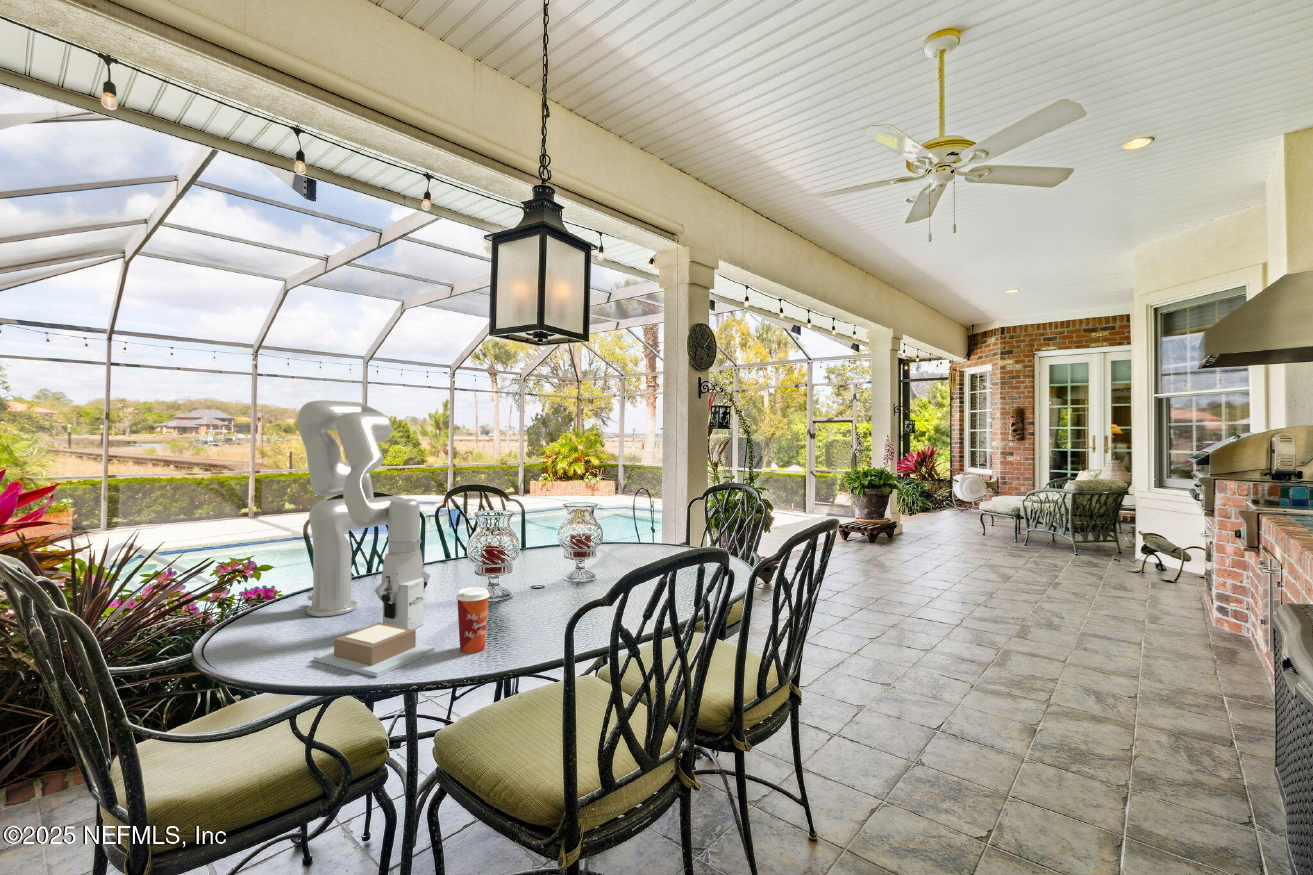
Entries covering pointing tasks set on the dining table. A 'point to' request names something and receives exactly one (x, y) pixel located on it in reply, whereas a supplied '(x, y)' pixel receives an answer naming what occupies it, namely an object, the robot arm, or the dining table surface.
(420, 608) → the supplement box
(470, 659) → the dining table surface
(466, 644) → the paper cup
